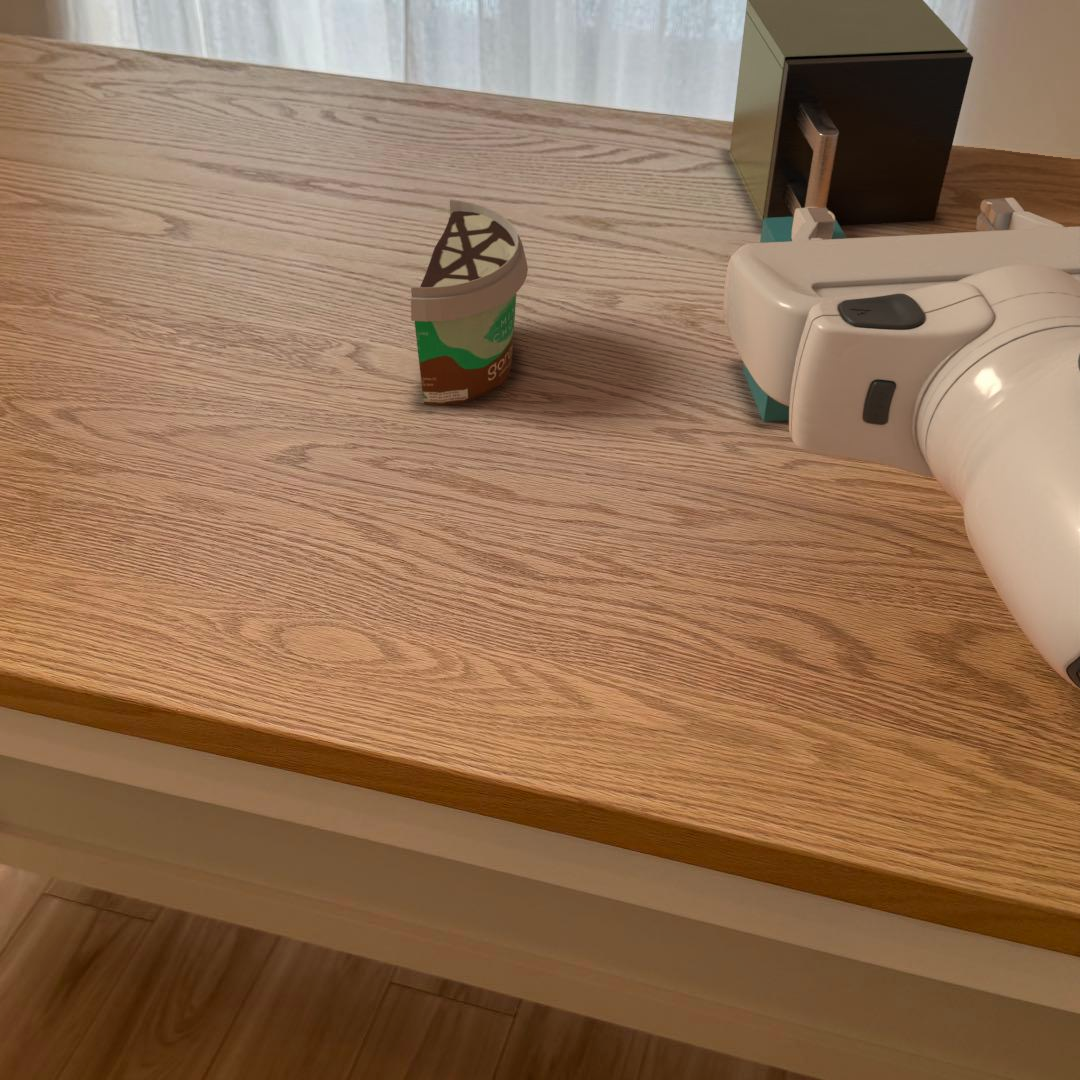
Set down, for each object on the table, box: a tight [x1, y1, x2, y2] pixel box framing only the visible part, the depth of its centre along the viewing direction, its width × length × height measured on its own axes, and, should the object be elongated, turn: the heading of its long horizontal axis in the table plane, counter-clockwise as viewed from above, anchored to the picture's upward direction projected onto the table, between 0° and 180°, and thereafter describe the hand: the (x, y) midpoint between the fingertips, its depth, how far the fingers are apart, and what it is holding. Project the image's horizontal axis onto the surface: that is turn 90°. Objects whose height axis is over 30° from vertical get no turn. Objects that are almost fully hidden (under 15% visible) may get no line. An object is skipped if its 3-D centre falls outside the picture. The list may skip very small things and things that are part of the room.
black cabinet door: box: [764, 51, 974, 227], centre depth 94 cm, size 7×14×14 cm, turn 96°
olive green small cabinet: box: [729, 0, 969, 223], centre depth 101 cm, size 12×14×14 cm
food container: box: [410, 199, 529, 406], centre depth 82 cm, size 12×6×10 cm, turn 171°
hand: (900, 215), depth 61 cm, fingers open, 8 cm apart
